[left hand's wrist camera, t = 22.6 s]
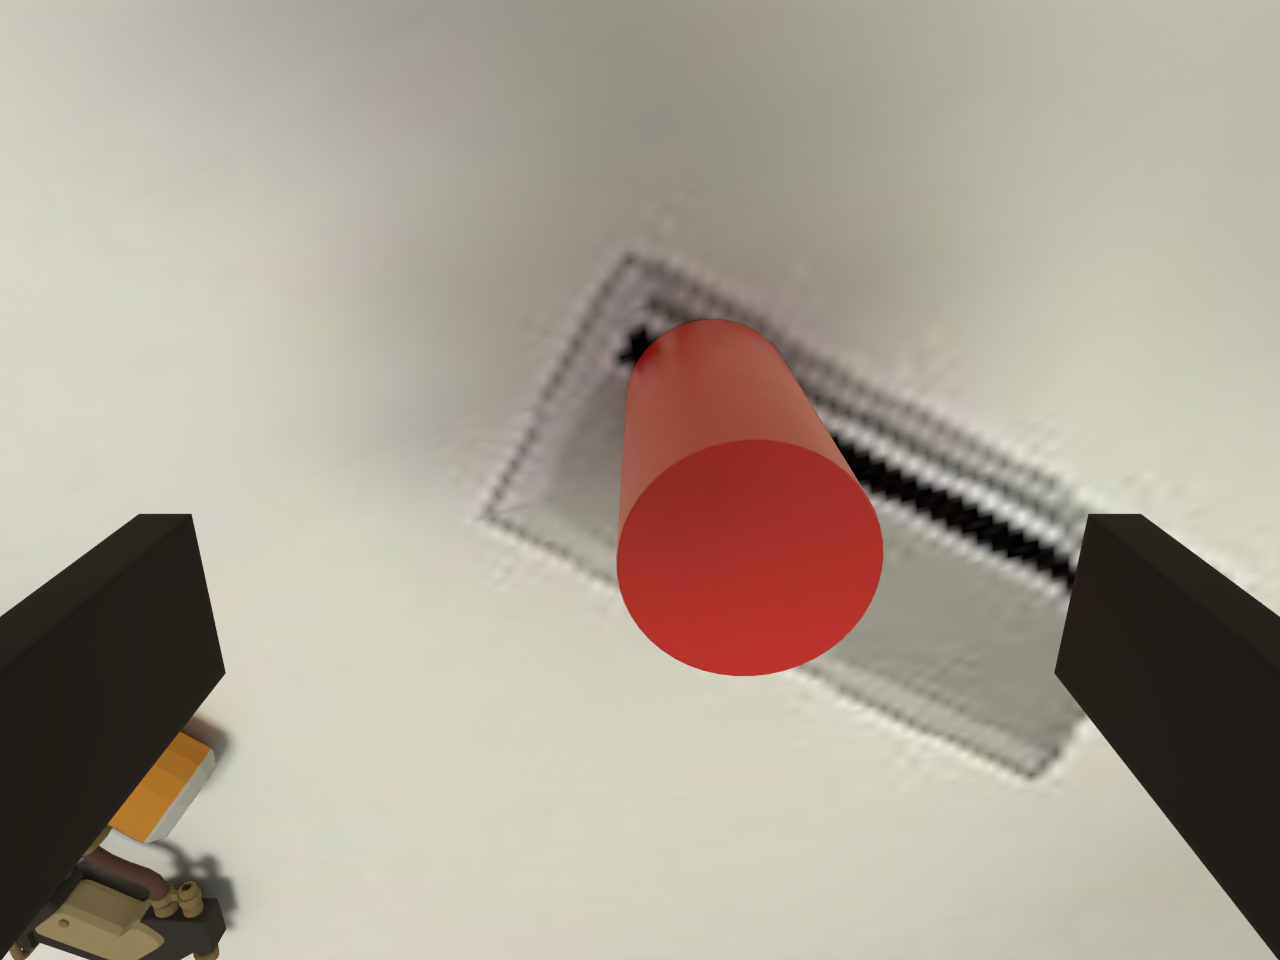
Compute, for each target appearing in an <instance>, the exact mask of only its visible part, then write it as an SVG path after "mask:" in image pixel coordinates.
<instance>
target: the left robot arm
mask: <svg viewBox="0 0 1280 960" xmlns="http://www.w3.org/2000/svg"><path fill="white" fill-rule="evenodd" d="M224 675H225V668H224V663H223V659H222V654H221V649H220V645H219V640H218V635H217V631H216V626H215V621H214V617H213V612H212V607H211V603H210V598H209V593H208V589H207V584H206V579H205V575H204V570H203V565H202V561H201V556H200V551H199V547H198V542H197V537H196V533H195V528H194V523H193V519H192V514H138V515H137V516H136V517H134V518H133V519H132V520H130V521H129V522H128V523H126V524H125V525H124V526H122V527H121V528H120V529H118V530H117V531H115V532H114V533H113V534H111V535H110V536H109V537H107V538H106V539H105V540H103V541H102V542H101V543H99V544H98V545H97V546H95V547H94V548H93V549H91V550H90V551H88V552H87V553H86V554H84V555H83V556H82V557H80V558H79V559H78V560H76V561H75V562H74V563H72V564H71V565H70V566H68V567H67V568H66V569H64V570H63V571H61V572H60V573H59V574H57V575H56V576H55V577H53V578H52V579H51V580H49V581H48V582H47V583H45V584H44V585H43V586H41V587H40V588H39V589H37V590H36V591H34V592H33V593H32V594H30V595H29V596H28V597H26V598H25V599H24V600H22V601H21V602H20V603H18V604H17V605H16V606H14V607H13V608H12V609H10V610H9V611H7V612H6V613H5V614H3V615H2V616H1V617H0V960H2V959H3V957H4V956H5V955H6V953H7V952H8V951H9V950H10V948H11V947H12V946H13V945H14V943H15V942H16V941H17V939H18V938H19V937H20V936H21V934H22V933H23V932H24V930H25V929H26V928H27V927H28V925H29V924H30V923H31V922H32V920H33V919H34V918H35V916H36V915H37V914H38V913H39V911H40V910H41V909H42V907H43V906H44V905H45V904H46V902H47V901H48V900H49V898H50V897H51V896H52V895H53V893H54V892H55V891H56V890H57V888H58V887H59V886H60V884H61V883H62V882H63V881H64V879H65V878H66V877H67V875H68V874H69V873H70V872H71V870H72V869H73V868H74V866H75V865H76V864H77V863H78V861H79V860H80V859H81V858H82V856H83V855H84V854H85V852H86V851H87V850H88V849H89V847H90V846H91V845H92V843H93V842H94V841H95V840H96V838H97V837H98V836H99V834H100V833H101V832H102V831H103V829H104V828H105V827H106V826H107V824H108V823H109V822H110V820H111V819H112V818H113V817H114V815H115V814H116V813H117V811H118V810H119V809H120V808H121V806H122V805H123V804H124V802H125V801H126V800H127V799H128V797H129V796H130V795H131V794H132V792H133V791H134V790H135V788H136V787H137V786H138V785H139V783H140V782H141V781H142V779H143V778H144V777H145V776H146V774H147V773H148V772H149V771H150V769H151V768H152V767H153V765H154V764H155V763H156V762H157V760H158V759H159V758H160V756H161V755H162V754H163V753H164V751H165V750H166V749H167V747H168V746H169V745H170V744H171V742H172V741H173V740H174V739H175V737H176V736H177V735H178V733H179V732H180V731H181V730H182V728H183V727H184V726H185V724H186V723H187V722H188V721H189V719H190V718H191V717H192V715H193V714H194V713H195V712H196V710H197V709H198V708H199V707H200V705H201V704H202V703H203V701H204V700H205V699H206V698H207V696H208V695H209V694H210V692H211V691H212V690H213V689H214V687H215V686H216V685H217V683H218V682H219V681H220V680H221V678H222V677H223V676H224ZM1055 675H1056V676H1057V677H1058V678H1059V680H1060V681H1061V682H1062V683H1063V685H1064V686H1065V687H1066V689H1067V690H1068V691H1069V692H1070V694H1071V695H1072V696H1073V698H1074V699H1075V700H1076V701H1077V703H1078V704H1079V705H1080V707H1081V708H1082V709H1083V710H1084V712H1085V713H1086V714H1087V715H1088V717H1089V718H1090V719H1091V721H1092V722H1093V723H1094V724H1095V726H1096V727H1097V728H1098V730H1099V731H1100V732H1101V733H1102V735H1103V736H1104V737H1105V739H1106V740H1107V741H1108V742H1109V744H1110V745H1111V746H1112V747H1113V749H1114V750H1115V751H1116V753H1117V754H1118V755H1119V756H1120V758H1121V759H1122V760H1123V762H1124V763H1125V764H1126V765H1127V767H1128V768H1129V769H1130V771H1131V772H1132V773H1133V774H1134V776H1135V777H1136V778H1137V779H1138V781H1139V782H1140V783H1141V785H1142V786H1143V787H1144V788H1145V790H1146V791H1147V792H1148V794H1149V795H1150V796H1151V797H1152V799H1153V800H1154V801H1155V802H1156V804H1157V805H1158V806H1159V808H1160V809H1161V810H1162V811H1163V813H1164V814H1165V815H1166V817H1167V818H1168V819H1169V820H1170V822H1171V823H1172V824H1173V826H1174V827H1175V828H1176V829H1177V831H1178V832H1179V833H1180V834H1181V836H1182V837H1183V838H1184V840H1185V841H1186V842H1187V843H1188V845H1189V846H1190V847H1191V849H1192V850H1193V851H1194V852H1195V854H1196V855H1197V856H1198V858H1199V859H1200V860H1201V861H1202V863H1203V864H1204V865H1205V866H1206V868H1207V869H1208V870H1209V872H1210V873H1211V874H1212V875H1213V877H1214V878H1215V879H1216V881H1217V882H1218V883H1219V884H1220V886H1221V887H1222V888H1223V890H1224V891H1225V892H1226V893H1227V895H1228V896H1229V897H1230V898H1231V900H1232V901H1233V902H1234V904H1235V905H1236V906H1237V907H1238V909H1239V910H1240V911H1241V913H1242V914H1243V915H1244V916H1245V918H1246V919H1247V920H1248V922H1249V923H1250V924H1251V925H1252V927H1253V928H1254V929H1255V930H1256V932H1257V933H1258V934H1259V936H1260V937H1261V938H1262V939H1263V941H1264V942H1265V943H1266V945H1267V946H1268V947H1269V948H1270V950H1271V951H1272V952H1273V953H1274V955H1275V956H1276V957H1277V959H1278V960H1280V617H1279V616H1278V615H1277V614H1275V613H1274V612H1273V611H1271V610H1270V609H1268V608H1267V607H1266V606H1264V605H1263V604H1262V603H1260V602H1259V601H1258V600H1256V599H1255V598H1254V597H1252V596H1251V595H1250V594H1248V593H1247V592H1246V591H1244V590H1243V589H1241V588H1240V587H1239V586H1237V585H1236V584H1235V583H1233V582H1232V581H1231V580H1229V579H1228V578H1227V577H1225V576H1224V575H1223V574H1221V573H1220V572H1219V571H1217V570H1216V569H1214V568H1213V567H1212V566H1210V565H1209V564H1208V563H1206V562H1205V561H1204V560H1202V559H1201V558H1200V557H1198V556H1197V555H1196V554H1194V553H1193V552H1192V551H1190V550H1189V549H1187V548H1186V547H1185V546H1183V545H1182V544H1181V543H1179V542H1178V541H1177V540H1175V539H1174V538H1173V537H1171V536H1170V535H1169V534H1167V533H1166V532H1165V531H1163V530H1162V529H1160V528H1159V527H1158V526H1156V525H1155V524H1154V523H1152V522H1151V521H1150V520H1148V519H1147V518H1146V517H1144V516H1143V515H1142V514H1088V519H1087V523H1086V528H1085V533H1084V537H1083V542H1082V547H1081V551H1080V556H1079V561H1078V565H1077V570H1076V575H1075V579H1074V584H1073V589H1072V593H1071V598H1070V603H1069V607H1068V612H1067V617H1066V621H1065V626H1064V631H1063V635H1062V640H1061V645H1060V649H1059V654H1058V659H1057V663H1056V668H1055Z"/></svg>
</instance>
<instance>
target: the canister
mask: <svg viewBox="0 0 1280 960" xmlns="http://www.w3.org/2000/svg"><path fill="white" fill-rule="evenodd" d="M882 563H883V539H882V533H881V528H880V524H879V521H878V518H877V515H876V512H875V510H874V508H873V506H872V504H871V502H870V500H869V498H868V496H867V495H866V493H865V491H864V490H863V488H862V487H861V485H860V483H859V482H858V480H857V478H856V477H855V475H854V474H853V472H852V470H851V469H850V467H849V465H848V464H847V462H846V461H845V459H844V457H843V456H842V454H841V452H840V451H839V449H838V447H837V446H836V444H835V443H834V441H833V439H832V438H831V436H830V434H829V433H828V431H827V430H826V428H825V426H824V425H823V423H822V421H821V420H820V418H819V417H818V415H817V413H816V412H815V410H814V408H813V407H812V405H811V403H810V402H809V400H808V399H807V397H806V395H805V394H804V392H803V390H802V389H801V387H800V386H799V384H798V382H797V381H796V379H795V377H794V376H793V374H792V373H791V371H790V369H789V368H788V366H787V364H786V363H785V361H784V360H783V358H782V356H781V355H780V354H779V352H778V351H777V349H776V348H775V347H774V346H773V345H772V344H771V343H770V342H769V341H768V340H767V339H766V338H765V337H763V336H762V335H761V334H759V333H758V332H756V331H754V330H753V329H751V328H749V327H747V326H744V325H742V324H739V323H735V322H732V321H727V320H719V319H705V320H698V321H693V322H689V323H685V324H682V325H680V326H678V327H675V328H673V329H671V330H670V331H668V332H666V333H664V334H663V335H662V336H660V337H659V338H658V339H656V340H655V341H654V342H653V343H652V344H651V345H650V346H649V347H648V348H647V349H646V350H645V352H644V353H643V354H642V355H641V357H640V358H639V360H638V362H637V363H636V365H635V367H634V369H633V372H632V374H631V377H630V380H629V384H628V389H627V397H626V412H625V428H624V445H623V461H622V477H621V493H620V509H619V525H618V541H617V577H618V583H619V588H620V591H621V594H622V597H623V601H624V603H625V605H626V607H627V609H628V611H629V613H630V615H631V617H632V618H633V620H634V621H635V623H636V624H637V626H638V627H639V628H640V630H641V631H642V632H643V633H644V634H645V635H646V636H647V637H648V638H649V639H650V640H651V641H652V642H653V643H654V644H655V645H656V646H658V647H659V648H660V649H661V650H663V651H664V652H666V653H667V654H669V655H670V656H672V657H673V658H675V659H677V660H679V661H681V662H683V663H685V664H687V665H689V666H692V667H695V668H698V669H701V670H704V671H708V672H712V673H717V674H722V675H732V676H756V675H765V674H771V673H776V672H780V671H785V670H788V669H791V668H794V667H797V666H799V665H802V664H804V663H806V662H808V661H810V660H812V659H815V658H816V657H818V656H820V655H821V654H823V653H825V652H826V651H828V650H829V649H831V648H832V647H833V646H834V645H836V644H837V643H838V642H840V641H841V640H842V639H843V638H844V637H845V636H846V635H847V634H848V633H849V632H850V631H851V630H852V629H853V628H854V627H855V625H856V624H857V623H858V622H859V620H860V619H861V618H862V616H863V615H864V613H865V612H866V610H867V608H868V606H869V605H870V603H871V601H872V599H873V596H874V594H875V592H876V589H877V587H878V583H879V579H880V575H881V571H882Z"/></svg>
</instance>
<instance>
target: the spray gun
mask: <svg viewBox="0 0 1280 960" xmlns="http://www.w3.org/2000/svg"><path fill="white" fill-rule="evenodd" d="M215 768H216V762H215V756H214V751H213V750H212V748H210V747H208V746H206V745H204V744H202V743H201V742H199V741H197V740H195V739H193V738H191V737H189V736H188V735H186V734H184V733H182V732H179V733H178V735H177V736H176V737H175V739H174V740H173V741H172V742H171V744H170V745H169V746H168V747H167V749H166V750H165V751H164V753H163V754H162V755H161V756H160V758H159V759H158V760H157V762H156V763H155V764H154V765H153V767H152V768H151V769H150V771H149V772H148V773H147V774H146V776H145V777H144V778H143V779H142V781H141V782H140V783H139V785H138V786H137V787H136V788H135V790H134V791H133V792H132V794H131V795H130V796H129V797H128V799H127V800H126V801H125V802H124V804H123V805H122V806H121V808H120V809H119V810H118V811H117V813H116V814H115V815H114V817H113V818H112V819H111V820H110V822H109V823H108V824H107V826H106V827H105V828H104V829H103V831H102V832H101V833H100V834H99V836H98V837H97V838H96V840H95V841H94V842H93V843H92V845H91V846H90V847H89V849H88V850H87V851H86V852H85V854H84V855H83V856H82V857H83V858H84V859H85V860H87V861H88V862H90V863H91V864H92V865H94V866H95V867H97V868H100V869H102V870H104V871H106V872H108V873H110V874H112V875H115V876H117V877H120V878H123V879H126V880H128V881H131V882H134V883H137V884H140V885H141V886H143V887H145V888H147V889H148V890H149V891H150V892H149V898H148V899H147V900H146V901H144V902H142V901H140V900H137V899H135V898H132V897H130V896H128V895H125V894H123V893H121V892H118V891H116V890H113V889H111V888H109V887H106V886H104V885H102V884H99V883H97V882H95V881H91V880H81V879H82V878H83V870H82V869H74V868H73V869H72V870H71V872H70V873H69V874H68V875H67V877H66V878H65V879H64V881H63V882H62V883H61V884H60V886H59V887H58V888H57V890H56V891H55V892H54V893H53V895H52V896H51V897H50V898H49V900H48V901H47V902H46V904H45V905H44V906H43V907H42V909H41V910H40V911H39V913H38V914H37V915H36V916H35V918H34V919H33V920H32V922H31V923H30V924H29V925H28V927H27V928H26V929H25V930H24V932H23V933H22V934H21V936H20V937H19V938H18V939H17V941H16V942H15V943H14V945H13V946H12V947H11V948H10V950H9V951H10V953H11V955H12V957H13V958H14V960H25V959H26V958H27V957H28V956H29V955H30V954H31V953H32V952H33V950H34V949H35V948H36V947H37V946H38V945H39V943H42V944H45V945H48V946H51V947H54V948H57V949H60V950H63V951H66V952H69V953H72V954H74V955H77V956H80V957H83V958H86V959H89V960H181V959H183V958H184V957H186V956H188V955H190V954H192V953H193V952H194V953H193V954H194V958H195V960H216V959H217V958H218V956H219V947H218V943H219V941H220V939H221V937H222V935H223V934H224V932H225V930H226V926H225V923H224V919H223V916H222V912H221V909H220V906H219V902H218V899H215V898H202V893H201V890H200V887H199V886H198V885H197V884H196V883H195V882H194V881H187V882H185V883H183V884H182V885H181V886H180V887H179V890H175V889H174V886H173V884H172V883H171V882H167V881H165V880H164V879H163V878H162V876H161V875H160V874H158V873H156V872H154V871H153V870H151V869H149V868H146V867H143V866H140V865H137V864H134V863H131V862H129V861H126V860H124V859H122V858H120V857H117V856H115V855H113V854H111V853H109V852H108V851H106V850H105V849H103V848H102V847H100V846H99V845H100V844H101V842H102V841H103V840H104V839H105V838H106V837H107V836H108V834H109V832H110V831H111V829H112V827H113V828H115V829H117V830H119V831H121V832H123V833H125V834H126V835H128V836H130V837H132V838H134V839H136V840H137V841H139V842H141V843H146V844H148V843H150V842H153V841H156V840H159V839H161V838H164V837H167V835H168V834H169V833H170V831H171V830H172V829H173V827H174V826H175V825H176V823H177V822H178V821H179V819H180V818H181V816H182V815H183V814H184V812H185V811H186V810H187V808H188V807H189V805H190V804H191V803H192V801H193V800H194V798H195V797H196V796H197V794H198V793H199V791H200V790H201V788H202V787H203V786H204V784H205V783H206V781H207V780H208V778H209V777H210V776H211V774H212V773H213V771H214V770H215ZM74 867H75V866H74ZM21 948H22V949H23V950H22V949H21Z"/></svg>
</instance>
